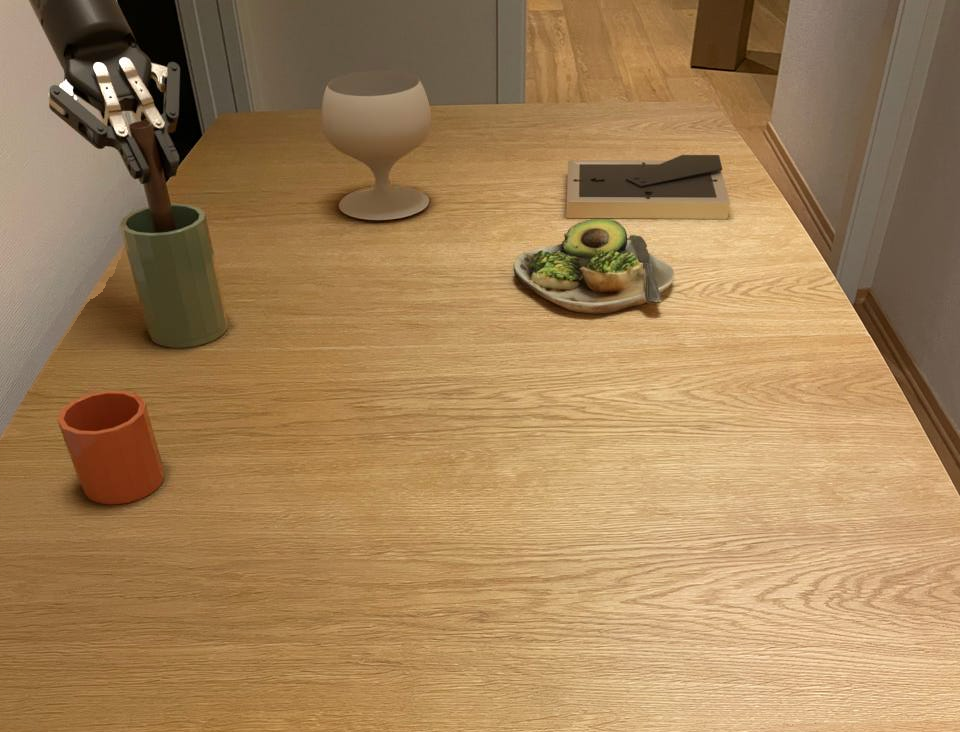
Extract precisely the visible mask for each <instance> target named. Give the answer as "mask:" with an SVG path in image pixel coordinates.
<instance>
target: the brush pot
mask: <svg viewBox="0 0 960 732" xmlns="http://www.w3.org/2000/svg"><path fill="white" fill-rule="evenodd" d="M57 423H58V426H59V429H60V431H61V435H62V437H63V440H64V442H65V445H66V448H67V451H68V455H69V457H70V460H71V463H72V465H73V469H74V471H75V473H76V477H77V478H78V482H79V485H80V487H81V489H82V491H83V493H84V495H85V496H86V498H88V499H89V500H91V501H93V502H95V503H97V504H98V503H99V504H103V505H122V504H127V503H132V502H136V501H139V500H141V499H143V498H146V497H148V496H149V495H151V494H152V493H154V492H156V491H157V489H158V488H159V487H160V486H161V485H162V484H163V482H164V479H165V471H164V464H163V461H162V457H161V454H160V450H159V446H158V443H157V439H156V435H155V432H154V429H153V426H152V422H151V419H150V415H149V412H148V408H147V404H146V402H145V401H144V399H143V398H142V397H141V396H140V395H138V394H136V393H134V392H130V391H128V390H113V389H111V390H110V389H109V390H102V391H97V392H91V393H88V394H85V395H83V396H81V397H78V398H76V399H74V400H72V401H70V402H69V403H68V404H67V405H66V406H65V407H63V408H62V409H61V410H60V412H59V414H58V417H57Z"/></svg>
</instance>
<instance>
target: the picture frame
mask: <svg viewBox="0 0 960 732" xmlns="http://www.w3.org/2000/svg"><path fill="white" fill-rule="evenodd" d="M722 171H723V166H722V161H721V157H720V154H681V155H679V156H676V157H673V158H671V159H669V160H654V159H653V160H652V159H651V160H649V159H647V160H645V159H644V160H643V159H642V160H638V159H637V160H633V159H632V160H626V159H625V160H623V159H620V160H616V159H615V160H613V159H611V160H605V159H604V160H603V159H601V160H599V159H596V160H595V159H594V160H590V159H589V160H588V159H586V160H584V159H581V160H579V159H578V160H576V159H568V160H567V181H566V182H567V183H566V184H567V185H566V211H565V212H566V213H565V218H566V219H601V218H602V219H605V218H606V219H668V220H669V219H672V220H673V219H675V220H677V219H679V220H682V219H684V220H685V219H686V220H687V219H688V220H689V219H692V220H694V219H695V220H698V219H701V220H728V218H729V212H730V205H731V201H730V197H729V194H728V191H727V187H726V184H725V180H724V179H725V178H724V176H723V173H722Z"/></svg>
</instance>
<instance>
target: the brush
mask: <svg viewBox="0 0 960 732" xmlns="http://www.w3.org/2000/svg"><path fill="white" fill-rule="evenodd" d="M128 128H129V129H128V130H129V132H130V133H129V134H130V137H132V136H133V137H134V139H135V141H136V143H137V145H138V147H139V149H140V151H141V153H142V155H143V157H144V159H145V161H146V163H147V165H148V167H149V169H150V173H151V175H150V180H149V183H145V184H142V185H143V190H144V194H145V199H146V202H147V207H149V211H150V215H151V219H152V223H153V227H154V231H155V233H162V232H169V231H174V230H177V229H176V224H175V220H174V216H173V211H172V207H171V204H172V203H171V198H170V194H169V190H168V185H167V181H166V176H165V171H164V169H163V167H162V163H161V159H160V154H159V150H158V146H157V141H156V137H155V133H154V128H153V124H152V123H151V122H148V121H139V122H137V121H135V122H132V123H130V124H129V125H128Z"/></svg>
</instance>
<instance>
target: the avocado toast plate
mask: <svg viewBox="0 0 960 732" xmlns="http://www.w3.org/2000/svg"><path fill="white" fill-rule="evenodd" d="M563 236H564V240H563V241H562V242H561V243H560V244H556V245H549V246H545V247H540V248H534V249H531V250H528V251H524V252H523V253H520V254H519V255H517V257H516V258H515V261H514V263H513V266H512V267H513V273H514V275H515V278H516V279H517V280H518V282H519V283H520V284H521V285H522V286H524V287H525V288H527V289H530V290H531V291H532V292H534V293H535V294H536V295H537V296H538V297H541V298H543V299H545V300H547V301H548V302H550V303H553V304H555V305H558V306H560V307H561V308H563V309H565V310H567V311H569V312H574V313H575V312H576V313H582V314H583V313H584V314H591V315H592V314H595V315H596V314H597V315H598V314H599V315H600V314H601V315H602V314H609V313H610V314H611V313H616V312H619V311H622V310H625V309H628V308H632V307H637V306H641V305H645V304H646V303H648V304H654V305H657V304H661V303H662V301H663V299H662V295H661V293H663V292H664V291H665V290H667V289H669V288H670V286H671V285H672V283H673V281H674V279H675V274H676V271H675V269H674V268H673V267H672V266H671V265H670V264H668V263H666V262H664V261H663V260H661V259H659V258H657V256H655V255H652V254H651V253H650V252H649V250H648V249H647V248H648V244H647V242H646V241H645V239H644V238H643V237H642V236H641V235H635V234H629V236H628V232H627V231H626V228H625V227H624V226H623V225H622V224H621V223H620V222H618V221H616V220H614V219H611V218H590V219H586V220H584V221H581V222H578V223H576V224H574V225H572V226H571V227H569V228H568V230H567V231H566V232H565V233H564V234H563Z"/></svg>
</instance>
